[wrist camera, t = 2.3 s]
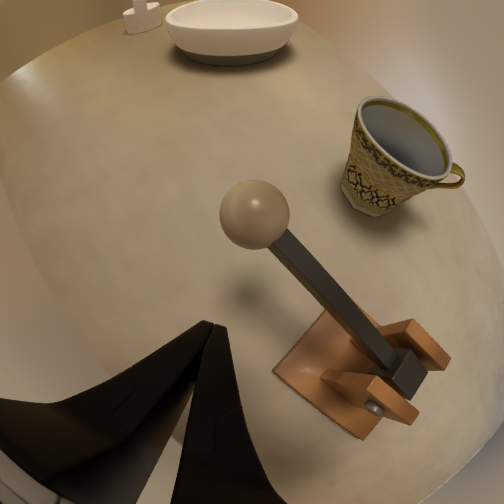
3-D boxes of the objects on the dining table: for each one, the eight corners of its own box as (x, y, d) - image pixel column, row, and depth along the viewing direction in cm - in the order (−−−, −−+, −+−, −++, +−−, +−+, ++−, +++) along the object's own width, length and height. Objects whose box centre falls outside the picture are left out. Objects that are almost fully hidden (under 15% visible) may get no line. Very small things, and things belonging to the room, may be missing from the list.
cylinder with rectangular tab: (163, 26, 43) (158, -14, 32) (126, 37, 42) (117, -3, 31) (160, 18, 46) (156, -18, 35) (127, 27, 45) (120, -8, 34)
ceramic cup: (317, 210, 27) (351, 143, 17) (335, 146, 30) (361, 82, 21) (421, 254, 26) (480, 213, 16) (423, 187, 29) (465, 140, 20)
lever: (202, 222, 14) (208, 199, 11) (246, 183, 15) (263, 154, 12) (377, 398, 15) (410, 411, 12) (403, 359, 16) (438, 365, 13)
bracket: (271, 370, 21) (296, 383, 12) (337, 293, 24) (391, 257, 15) (358, 437, 19) (417, 470, 10) (412, 362, 21) (483, 357, 12)
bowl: (292, 33, 43) (297, 2, 35) (291, 81, 35) (300, 36, 27) (189, 27, 43) (187, -3, 35) (151, 74, 35) (143, 33, 27)
